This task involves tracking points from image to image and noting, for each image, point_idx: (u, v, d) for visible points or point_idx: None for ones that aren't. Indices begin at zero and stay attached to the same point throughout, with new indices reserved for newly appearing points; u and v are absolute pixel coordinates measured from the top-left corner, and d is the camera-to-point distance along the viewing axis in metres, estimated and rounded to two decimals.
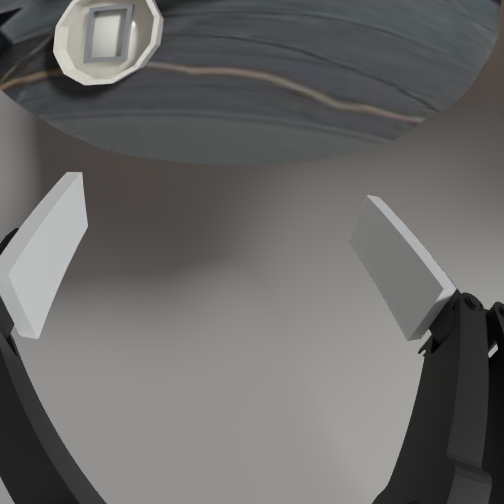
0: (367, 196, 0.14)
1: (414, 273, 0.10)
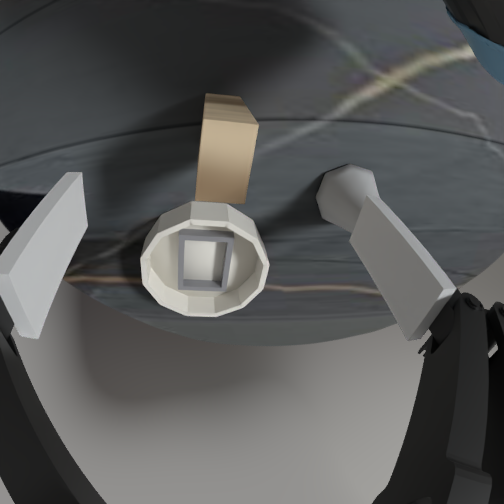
0: (367, 196, 0.14)
1: (414, 273, 0.10)
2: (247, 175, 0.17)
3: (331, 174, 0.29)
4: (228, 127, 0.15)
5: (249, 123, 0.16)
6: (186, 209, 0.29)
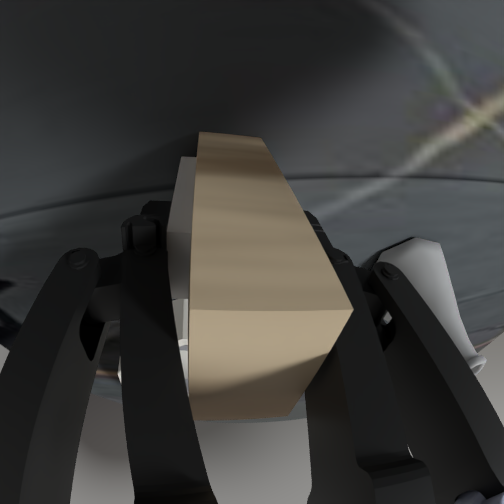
0: None
1: None
2: (302, 389, 0.07)
3: (390, 254, 0.19)
4: (268, 324, 0.05)
5: (328, 304, 0.06)
6: (176, 313, 0.19)
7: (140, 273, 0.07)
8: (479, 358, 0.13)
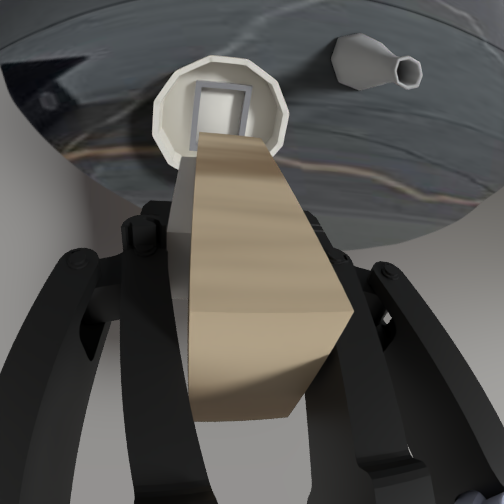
0: None
1: None
2: (302, 390, 0.07)
3: (343, 37, 0.25)
4: (268, 326, 0.05)
5: (328, 306, 0.05)
6: None
7: (140, 273, 0.07)
8: (411, 58, 0.19)
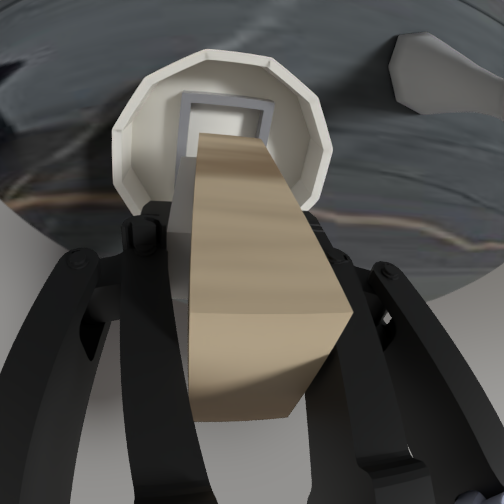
0: None
1: None
2: (302, 390, 0.07)
3: (406, 36, 0.15)
4: (268, 327, 0.05)
5: (328, 307, 0.05)
6: None
7: (140, 273, 0.07)
8: None
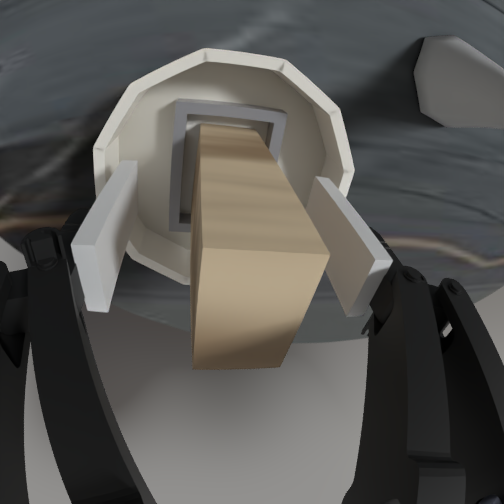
0: (316, 177, 0.14)
1: (351, 247, 0.11)
2: (291, 335, 0.09)
3: (433, 39, 0.13)
4: (262, 263, 0.07)
5: (310, 250, 0.07)
6: None
7: (44, 287, 0.06)
8: None
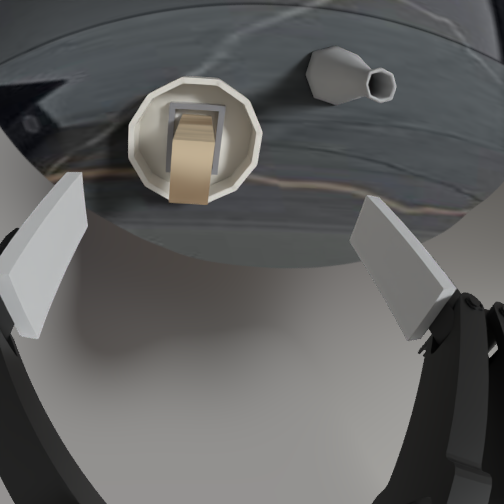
0: (367, 196, 0.14)
1: (414, 273, 0.10)
2: (208, 182, 0.22)
3: (318, 52, 0.26)
4: (191, 145, 0.20)
5: (208, 141, 0.20)
6: None
7: None
8: (384, 70, 0.20)
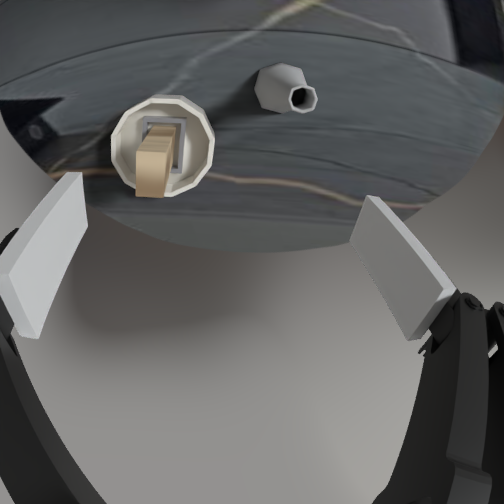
0: (367, 196, 0.14)
1: (414, 273, 0.10)
2: (163, 181, 0.29)
3: (264, 69, 0.33)
4: (149, 155, 0.27)
5: (161, 152, 0.28)
6: (149, 97, 0.33)
7: None
8: (306, 85, 0.27)
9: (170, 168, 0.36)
